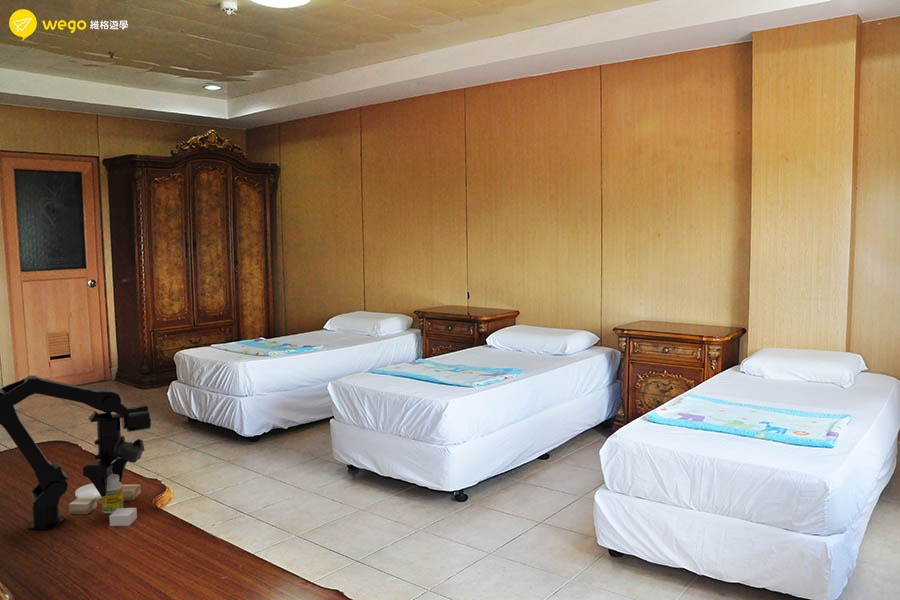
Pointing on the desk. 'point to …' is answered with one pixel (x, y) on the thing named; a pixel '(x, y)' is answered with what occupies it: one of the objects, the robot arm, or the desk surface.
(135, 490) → the oak block
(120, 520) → the grey plastic block
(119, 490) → the supplement bottle
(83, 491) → the cream saucer
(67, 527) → the desk surface
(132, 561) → the desk surface
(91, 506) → the birch block
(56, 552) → the desk surface
